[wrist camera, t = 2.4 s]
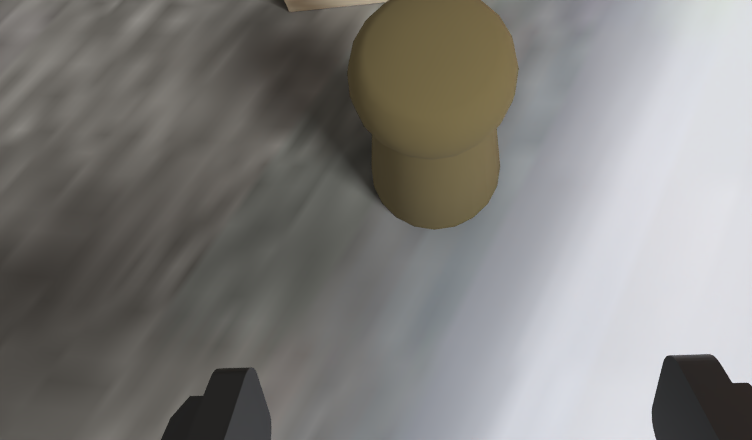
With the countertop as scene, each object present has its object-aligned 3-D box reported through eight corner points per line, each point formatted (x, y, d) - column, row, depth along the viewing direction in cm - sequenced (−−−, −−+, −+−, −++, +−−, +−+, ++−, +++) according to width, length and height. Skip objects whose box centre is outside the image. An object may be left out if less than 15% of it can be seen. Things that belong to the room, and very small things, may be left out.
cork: (395, 93, 27) (366, -69, 16) (516, 127, 26) (568, -23, 15) (353, 206, 26) (293, 113, 15) (477, 246, 25) (504, 176, 14)
